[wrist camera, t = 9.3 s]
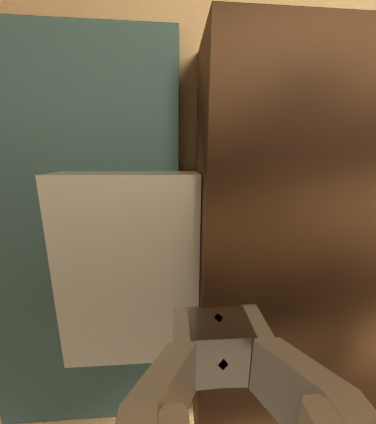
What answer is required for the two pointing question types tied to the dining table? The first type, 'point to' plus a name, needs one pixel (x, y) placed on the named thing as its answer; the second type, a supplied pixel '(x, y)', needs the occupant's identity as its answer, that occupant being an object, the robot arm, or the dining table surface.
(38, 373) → the mat
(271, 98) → the board
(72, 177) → the white rectangular block
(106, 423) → the dining table surface
